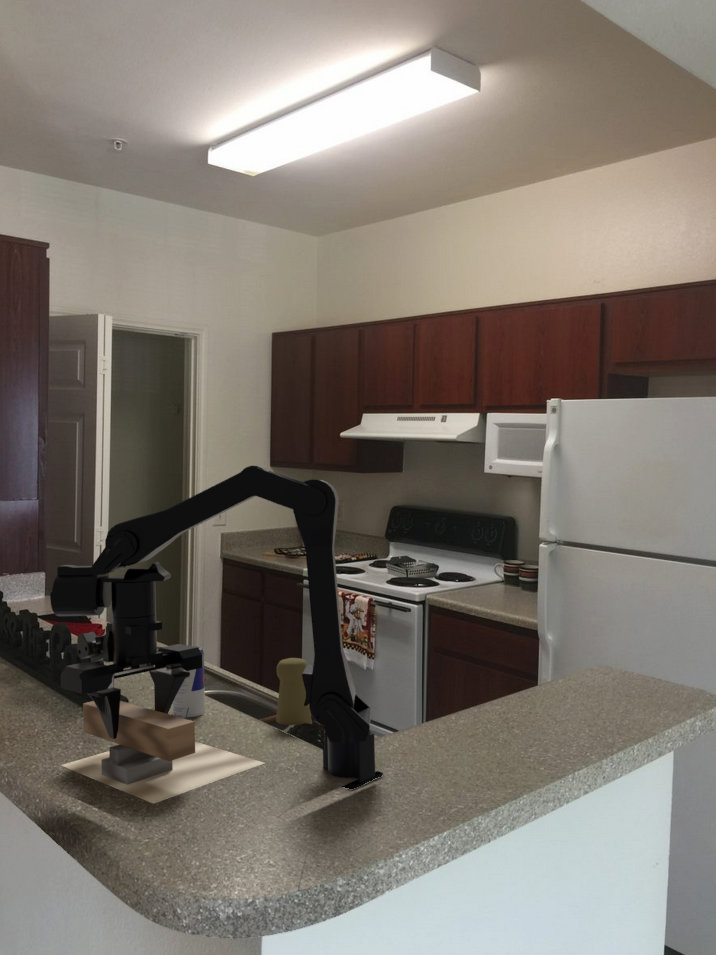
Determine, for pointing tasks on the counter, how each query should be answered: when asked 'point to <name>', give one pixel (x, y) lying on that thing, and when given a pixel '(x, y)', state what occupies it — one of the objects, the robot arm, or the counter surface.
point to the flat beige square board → (161, 770)
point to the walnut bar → (145, 730)
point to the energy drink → (191, 695)
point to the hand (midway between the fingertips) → (136, 731)
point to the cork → (292, 693)
